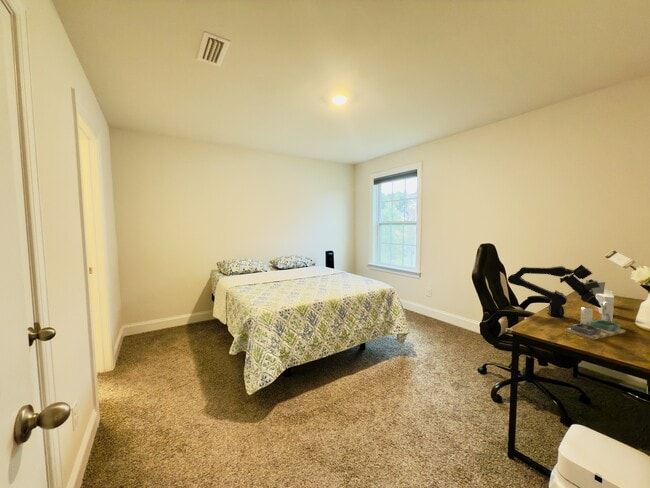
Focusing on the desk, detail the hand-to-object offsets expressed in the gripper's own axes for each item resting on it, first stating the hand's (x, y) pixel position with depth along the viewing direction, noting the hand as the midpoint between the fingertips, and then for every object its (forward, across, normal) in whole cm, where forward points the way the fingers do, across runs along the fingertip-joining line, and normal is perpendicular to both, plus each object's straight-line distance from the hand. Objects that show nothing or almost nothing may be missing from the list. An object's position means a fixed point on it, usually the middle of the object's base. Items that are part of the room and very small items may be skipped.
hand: (599, 305), depth 161 cm
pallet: (+5, -19, +9) cm, 22 cm away
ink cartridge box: (+10, +24, +4) cm, 26 cm away
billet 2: (+9, 0, +5) cm, 11 cm away
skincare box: (+8, +52, +6) cm, 53 cm away
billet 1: (+1, -26, +11) cm, 28 cm away
